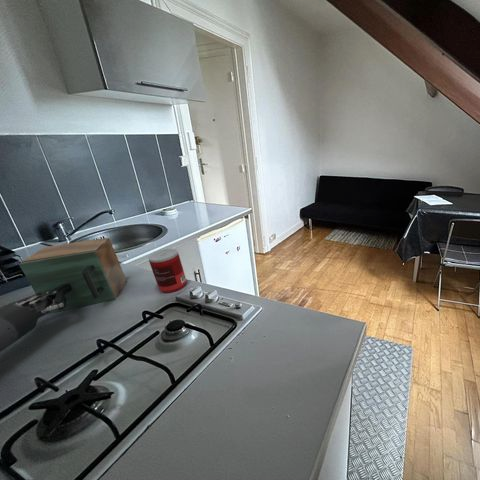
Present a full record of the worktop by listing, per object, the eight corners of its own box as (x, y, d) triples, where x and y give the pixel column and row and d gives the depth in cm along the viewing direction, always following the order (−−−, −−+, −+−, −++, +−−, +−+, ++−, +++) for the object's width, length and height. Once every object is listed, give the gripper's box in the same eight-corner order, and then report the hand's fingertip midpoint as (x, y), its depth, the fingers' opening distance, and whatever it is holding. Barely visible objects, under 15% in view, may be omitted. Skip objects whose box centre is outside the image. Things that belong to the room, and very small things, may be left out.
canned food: (182, 277, 85) (172, 246, 81) (191, 285, 80) (181, 253, 76) (156, 286, 80) (144, 254, 76) (163, 296, 75) (152, 263, 71)
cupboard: (116, 298, 76) (95, 249, 70) (49, 312, 71) (21, 261, 65) (127, 281, 84) (109, 237, 78) (68, 293, 80) (44, 247, 74)
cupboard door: (109, 307, 71) (87, 257, 65) (38, 323, 67) (6, 271, 61) (115, 298, 76) (95, 250, 70) (48, 312, 71) (20, 262, 65)
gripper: (19, 314, 52) (87, 272, 68) (-48, 319, 52) (36, 276, 68) (37, 343, 55) (98, 296, 71) (-27, 348, 55) (49, 300, 71)
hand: (68, 286), depth 70 cm, fingers closed
